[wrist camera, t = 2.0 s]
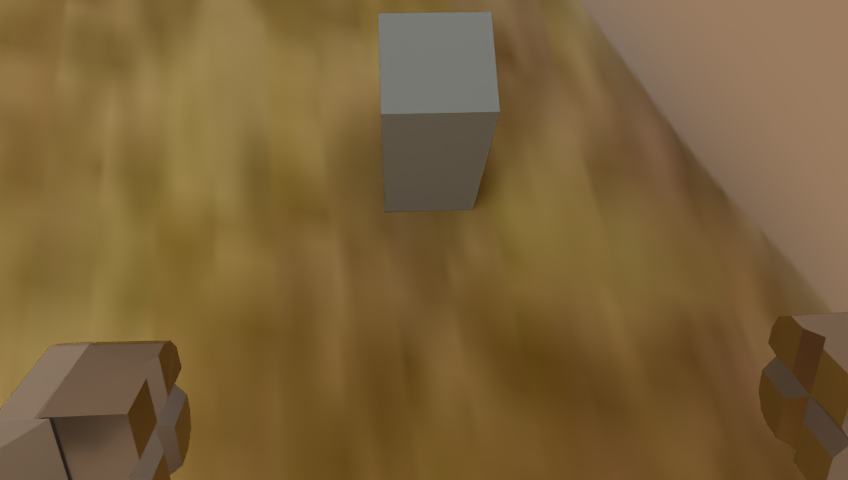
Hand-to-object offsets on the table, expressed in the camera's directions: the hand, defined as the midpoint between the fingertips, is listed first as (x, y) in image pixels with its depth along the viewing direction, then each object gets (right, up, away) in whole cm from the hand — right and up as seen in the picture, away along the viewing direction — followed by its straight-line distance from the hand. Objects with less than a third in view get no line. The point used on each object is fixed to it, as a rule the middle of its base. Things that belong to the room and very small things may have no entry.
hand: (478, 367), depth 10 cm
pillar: (-1, +5, +23) cm, 24 cm away
